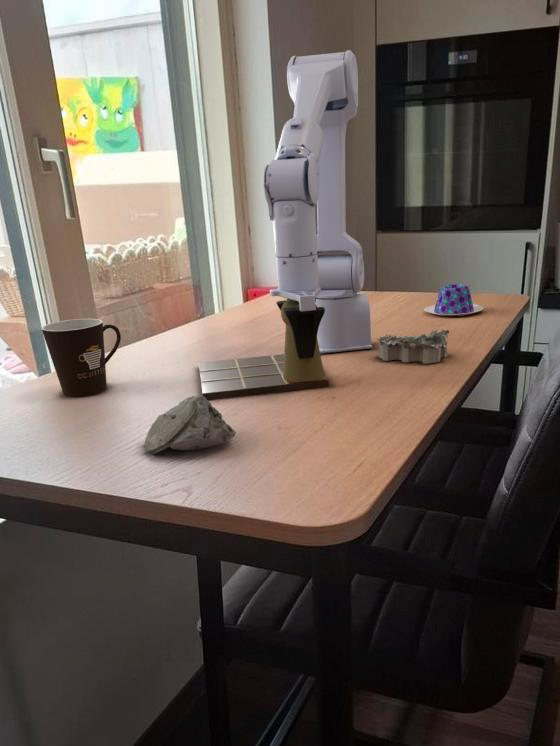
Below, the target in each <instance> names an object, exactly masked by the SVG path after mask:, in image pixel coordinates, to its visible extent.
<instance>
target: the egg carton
mask: <svg viewBox="0 0 560 746" xmlns="http://www.w3.org/2000/svg"><path fill="white" fill-rule="evenodd" d="M449 335H450V330H449V329H445V330H444V329H440V330H438V329H437V330H432V331H431V332H430V334H427V333H421V334H420V335H412V334H411V335H403V336H399V337H397V334H395V335H392V334H385V335H384V336H379V337H378V338H376V340H377V341H378V345H377V347H378V358H380V359H381V360H382V361H384V362H390V361H393V360H394V361H395V360H396V361H397V360H398V361H401V362H402V363H412V362H421V363H422V364H423V365H428V364H437V363H439V362H441V358H447V356H448V340H447V338H448V337H449Z"/></svg>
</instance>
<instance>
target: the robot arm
mask: <svg viewBox="0 0 560 746" xmlns="http://www.w3.org/2000/svg"><path fill="white" fill-rule="evenodd" d="M358 71H359V70H358V62H357V57H356V55H355V54H354V53H353V51H352V50H351V49H347V50H345V51H342V52H341V51H340V52H331V53H321V54H311V55H303V56H301V55H300V56H297V55H293V56H291V57H290V59H289V61H288V63H287V67H286V82H287V88H288V89H287V90H288V94H289V97H290V99H291V100H292V102H293V105H294V107H293V108H294V109H293V117H292V118H290V119H288V120H287V121H286V122H285V123H284V125H283V128H282V131H281V135H280V139H279V142H278V147H277V149H276V154H275V157H274V159H273V160H271V161H270V164H266V165H265V167H264V171H263V184H262V185H263V192H264V198H265V200H266V204H267V209H268V217H269V220H270V221H272V226H273V241H274V255H275V267H276V278H277V279H276V280H277V288H272V289H271V288H270V289H269V295H270V297H280V298H283V299H284V300H278V301H276V302H275V303H276V306H277V307H278V309H279V311H280V312H281V308H282V306H283V304H284V303H285V302H286V301H289V300H294V301H298V302H299V303H297V307H291V308H283V312H284V314H285V316H286V318H287V320H288V322H289V324H290V327H291V330H292V334H293V338H294V343H295V348H296V352H297V355H298V357H299V359H304V358H313V357H314V353H315V346H316V339H318V345H319V350H320V354H329V353H330V354H331V353H339V352H348V351H359V350H369V349H372V348H373V345H372V330H371V329H372V328H371V306H370V301H369V297H368V294H367V293H361V290H362V289H363V288H364V283H365V262H364V255H363V254H364V253H363V252H364V251H363V248H362V245H361V243H360V242H358V240H356V239H355V238H353V237H352V236H350V235H349V234H348V232H347V225H346V224H347V219H346V218H347V215H346V214H347V213H346V211H347V209H346V207H347V206H346V205H347V204H346V203H347V202H346V201H347V200H346V133H347V127H348V122H349V121H351V120H352V119H353V118H355V117H356V116H357V115H358V107H359V73H358ZM316 210H317V211H316ZM316 212H317V213H316ZM316 214H317V215H316ZM316 216H317V217H316ZM316 218H317V223H316ZM347 252H348V253H347ZM323 253H344V254H323ZM345 253H347V254H345ZM315 304H316V305H317V307H315Z"/></svg>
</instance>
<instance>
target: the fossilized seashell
mask: <svg viewBox="0 0 560 746" xmlns="http://www.w3.org/2000/svg"><path fill="white" fill-rule="evenodd" d="M236 433H237V431H236V430H234V429H233V428H232V426H231V425H230V424H228V423H227V422H226V421H225V420H224V419H223V414H222V413H221V412H220V411H219V410H217V408H216V407H214V406H213V405H212V403H211V402H209V400H207V399H206V398H205V397H203V396H195V395H193V396H188V397H186V398H185V399H183V400H181V401H180V402H178V404H177V405H175V406H173V407H172V408H170V409H169V410H167V411H165V412H164V413H162V414H159V415H158V416H157V418H156V419H155V420H154V422H153V423H152V424H151V426H150V428H149V430H148V432H147V434H146V437H145V440H144V445H143V446H144V449H145V451H147V452H148V453H149V454H151V455H152V454H157V453H159V452H162V451H164V450H166V449H167V448H171V449H172V450H179V451H196V450H203V449H208V448H211V447H216V446H217V445H218V446H219V445H220V444H223V443H225V442H228V441H229V440H232V439H233V438H234V437H235V436H236Z"/></svg>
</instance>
